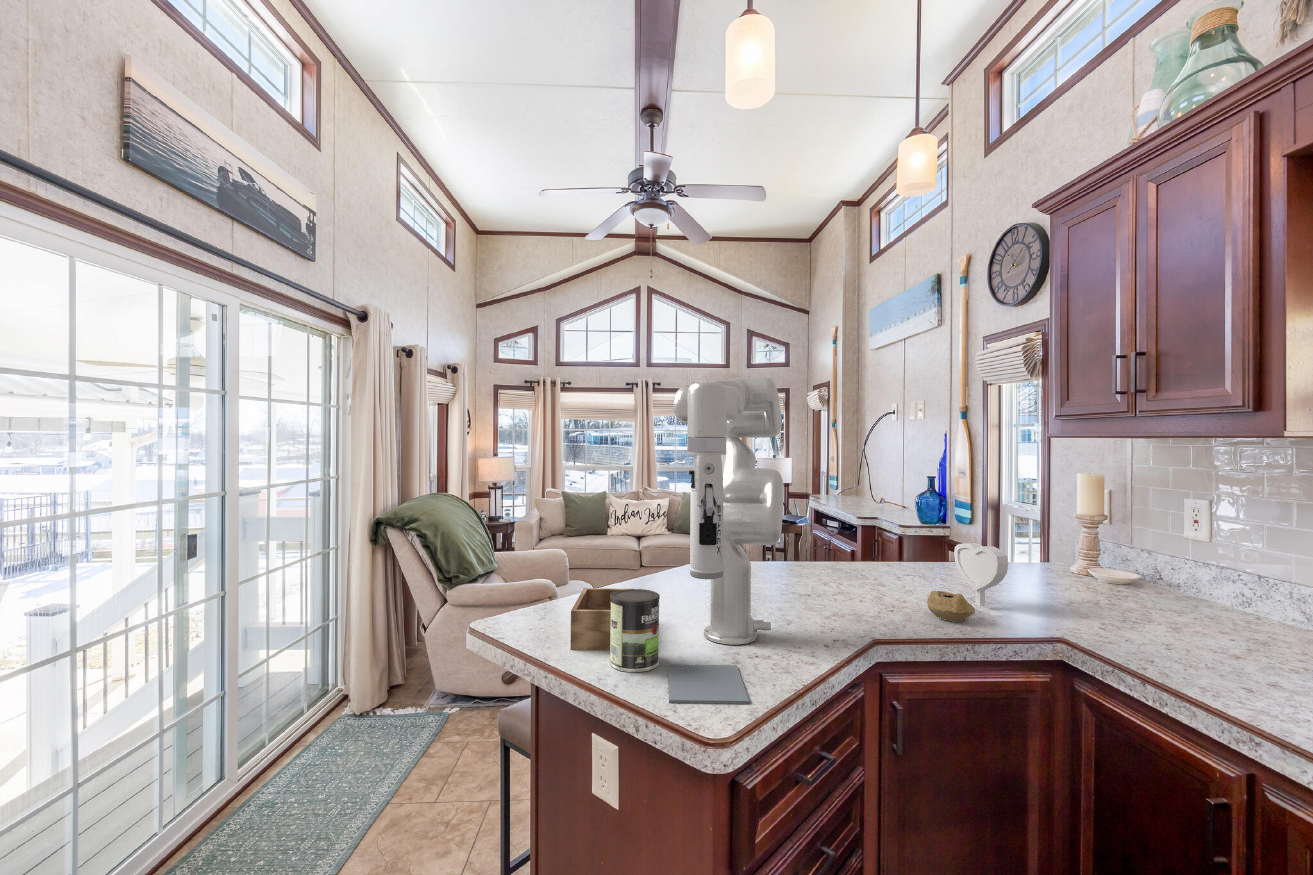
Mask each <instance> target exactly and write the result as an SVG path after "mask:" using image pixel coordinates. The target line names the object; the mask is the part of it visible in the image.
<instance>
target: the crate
mask: <svg viewBox="0 0 1313 875" xmlns="http://www.w3.org/2000/svg"><path fill="white" fill-rule="evenodd" d="M626 589H627V588H608V587H607V588H605V587H604V588H599V587H598V588H594V587H593V588H591V587H589V588H588V587H587V588H586V587H584V588H583V589H582V591H581V593H580V594H579V595H578V598H577V600H576V601H575V603H574V605H573V606H572V608H571V610H570V647H569V648H570V650H571V651H574V650H575V651H577V650H578V651H582V650H583V651H587V650H588V651H610V637H611V599H610V595H611V594H612V593H613V592H616V591H620V590H626Z"/></svg>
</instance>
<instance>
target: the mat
mask: <svg viewBox="0 0 1313 875" xmlns="http://www.w3.org/2000/svg"><path fill="white" fill-rule="evenodd" d="M667 666H668V667H667V669H668V670H667V671H668V673H667V674H668V676H667V678H668V680H667V681H668V703H669V704H673V703H674V704H725V705H729V704H730V705H733V704H736V705H740V704H741V705H743V704H744V705H750V700H749V696H748V693H747V690H746V688H745V684H744V682H743V679H742V676H741V673H740V670H739V667H738V665H737V664H726V665H725V664H675V663H674V664H671V663H670V664H667Z"/></svg>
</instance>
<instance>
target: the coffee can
mask: <svg viewBox="0 0 1313 875" xmlns="http://www.w3.org/2000/svg"><path fill="white" fill-rule="evenodd" d="M625 589H626V590H620V591H616V592H613V593H612V594H611V595H610V599H611V637H610V650H609V655H610V656H609V658H610V659H609V665H610V666H611V667H612V669H615V670H617V671H621V672H626V673H642V672H644V673H645V672H648V671H651V670H654V669H655V668H657V667H658V666H659V663H660V662H659V658H660V657H659V656H660V655H659V653H660V652H659V650H660V649H659V645H660V644H659V643H660V640H659V639H660V638H659V637H660V636H659V635H660V631H659V630H660V629H659V628H660V626H659V625H660V597H661V596H660V593H658V592H656V591H653V590H650V589H645V588H644V589H641V588H625Z"/></svg>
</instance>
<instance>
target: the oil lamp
mask: <svg viewBox="0 0 1313 875" xmlns="http://www.w3.org/2000/svg"><path fill="white" fill-rule="evenodd" d="M926 601H927V608H928V609H929V611H930V612H931V613H932V614H933V615H934V616H935V617H936V618H938V617H939V618H941V619H946V620H945V621H947V620H951V621H960V622H962V621H961V620H964V621H965V620H966V619H967V618H969V617H970V616H972V615H974V614H975V612H976V610H975V608H974V607H973V606H972V605H971V604H969V603H970V602H969V603H968V601H967V599H966V598H965V597H964V595H963V594H961V593H951V592H948V591H943V590H937V591H936V590H931V591H930V592H929V595H928V597H927V600H926ZM939 618H938V619H939ZM941 619H940V620H941ZM951 621H950V622H951Z"/></svg>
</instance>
